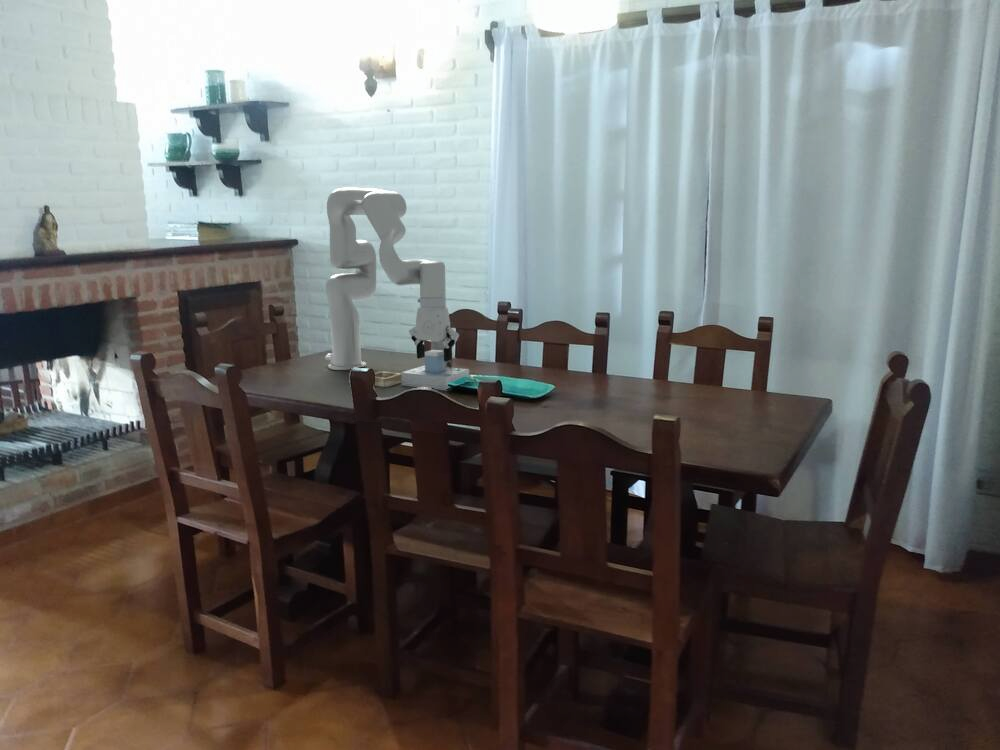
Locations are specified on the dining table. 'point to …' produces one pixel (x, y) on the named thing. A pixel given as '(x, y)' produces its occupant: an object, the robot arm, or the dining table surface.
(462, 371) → the port
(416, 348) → the robot arm
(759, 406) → the dining table surface
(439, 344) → the coffee box
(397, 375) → the wooden square frame
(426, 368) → the plug
